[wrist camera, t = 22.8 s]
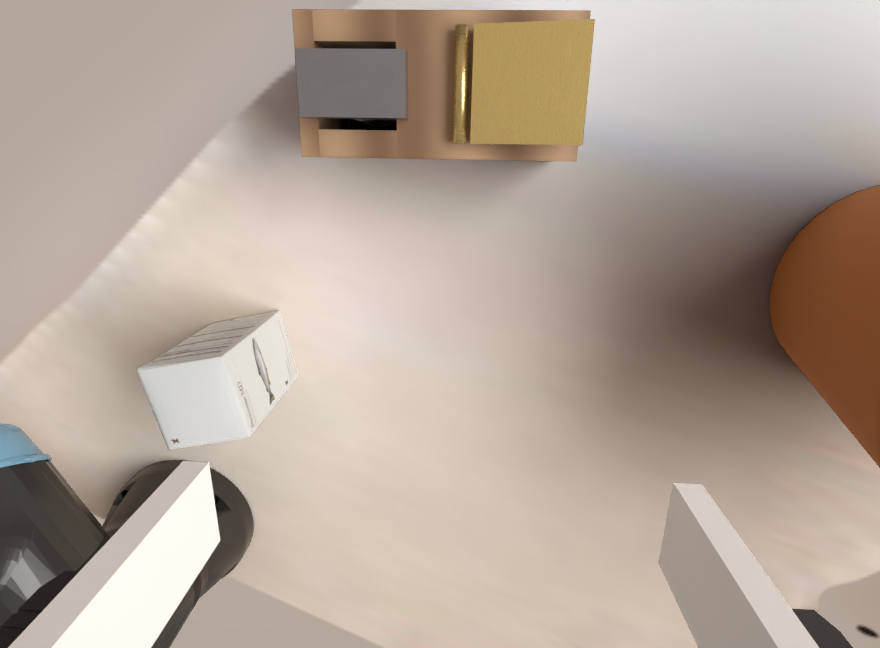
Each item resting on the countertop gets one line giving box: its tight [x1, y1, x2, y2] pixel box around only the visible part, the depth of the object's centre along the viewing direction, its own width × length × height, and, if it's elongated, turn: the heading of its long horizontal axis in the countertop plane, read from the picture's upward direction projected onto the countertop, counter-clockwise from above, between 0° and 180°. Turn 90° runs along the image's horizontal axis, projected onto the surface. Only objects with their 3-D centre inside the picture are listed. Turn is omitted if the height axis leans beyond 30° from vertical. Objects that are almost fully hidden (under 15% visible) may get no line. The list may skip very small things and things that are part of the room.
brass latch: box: [453, 19, 595, 145], centre depth 32 cm, size 1×7×8 cm
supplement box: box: [137, 311, 299, 450], centre depth 45 cm, size 7×7×13 cm
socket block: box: [292, 9, 591, 161], centre depth 38 cm, size 19×9×10 cm, turn 89°
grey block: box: [295, 48, 408, 127], centre depth 38 cm, size 7×4×11 cm, turn 89°
